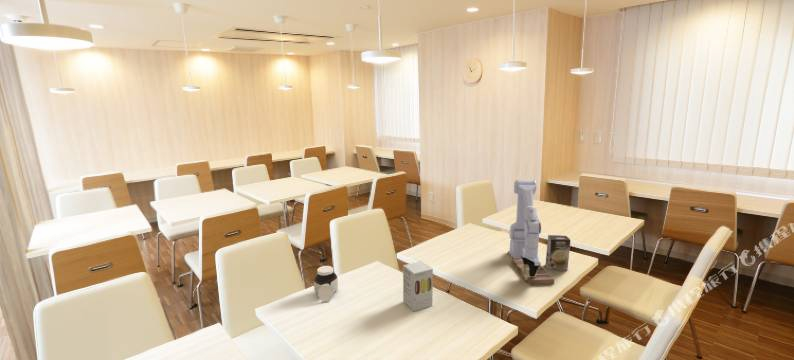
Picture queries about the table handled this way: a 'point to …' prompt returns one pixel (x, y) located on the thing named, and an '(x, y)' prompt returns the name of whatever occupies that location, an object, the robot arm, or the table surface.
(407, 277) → the supplement box
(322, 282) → the spread jar
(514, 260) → the walnut board
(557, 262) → the coffee box
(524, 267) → the beige block
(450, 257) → the table surface
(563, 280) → the table surface
